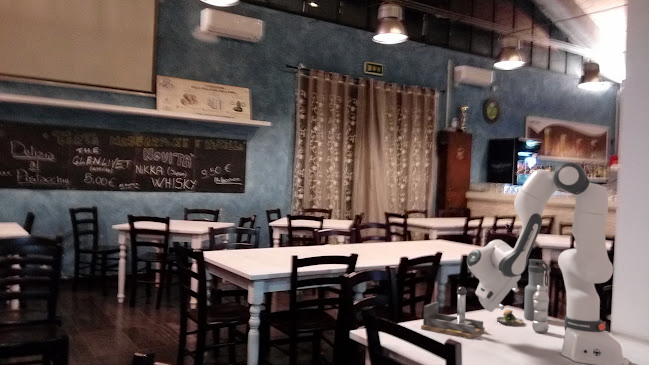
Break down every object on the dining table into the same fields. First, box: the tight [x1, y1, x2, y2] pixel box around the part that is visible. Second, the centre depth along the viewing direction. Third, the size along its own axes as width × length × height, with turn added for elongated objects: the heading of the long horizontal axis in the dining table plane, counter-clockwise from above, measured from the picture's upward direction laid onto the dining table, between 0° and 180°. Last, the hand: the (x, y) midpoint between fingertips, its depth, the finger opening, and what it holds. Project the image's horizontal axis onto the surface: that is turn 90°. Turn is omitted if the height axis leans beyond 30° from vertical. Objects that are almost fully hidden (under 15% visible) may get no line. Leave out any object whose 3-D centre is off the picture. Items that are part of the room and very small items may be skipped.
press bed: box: [420, 301, 486, 340], centre depth 232 cm, size 22×16×10 cm
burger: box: [496, 308, 524, 326], centre depth 247 cm, size 12×12×8 cm
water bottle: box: [523, 258, 550, 322], centre depth 256 cm, size 10×10×28 cm
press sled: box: [451, 286, 472, 326], centre depth 230 cm, size 7×8×17 cm
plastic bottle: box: [532, 284, 550, 334], centre depth 233 cm, size 6×7×20 cm
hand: (509, 299), depth 224 cm, fingers open, 8 cm apart
